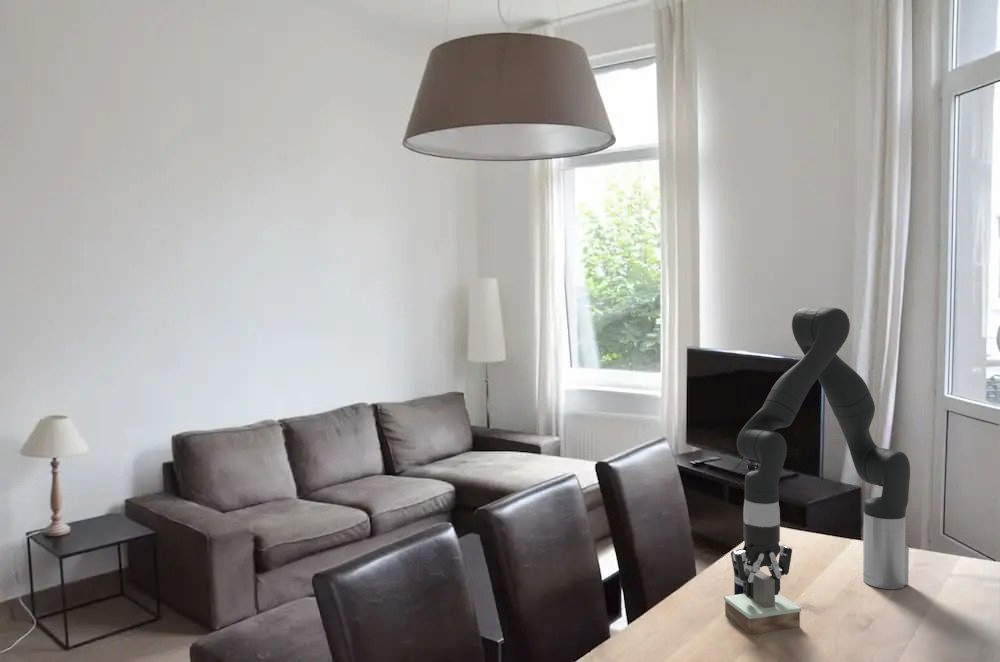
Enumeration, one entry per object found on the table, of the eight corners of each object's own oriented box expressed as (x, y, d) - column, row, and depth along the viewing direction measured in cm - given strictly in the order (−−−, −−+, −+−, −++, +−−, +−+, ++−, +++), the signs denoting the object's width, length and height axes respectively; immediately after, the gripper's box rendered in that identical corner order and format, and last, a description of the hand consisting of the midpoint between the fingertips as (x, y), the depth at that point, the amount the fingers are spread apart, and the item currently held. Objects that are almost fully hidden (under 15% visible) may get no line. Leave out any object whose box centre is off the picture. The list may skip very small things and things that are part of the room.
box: (772, 610, 179) (772, 593, 178) (799, 629, 169) (799, 611, 169) (725, 617, 176) (725, 600, 175) (750, 636, 166) (750, 618, 166)
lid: (772, 593, 178) (772, 563, 178) (801, 611, 168) (801, 580, 168) (723, 599, 175) (723, 570, 175) (749, 619, 165) (749, 587, 165)
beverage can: (761, 608, 180) (761, 556, 179) (735, 606, 181) (735, 555, 180) (758, 598, 186) (758, 548, 185) (733, 596, 187) (733, 547, 186)
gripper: (780, 511, 176) (780, 585, 177) (722, 518, 173) (723, 593, 174) (801, 521, 169) (800, 598, 170) (741, 528, 165) (741, 606, 166)
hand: (761, 595), depth 172 cm, fingers open, 5 cm apart
